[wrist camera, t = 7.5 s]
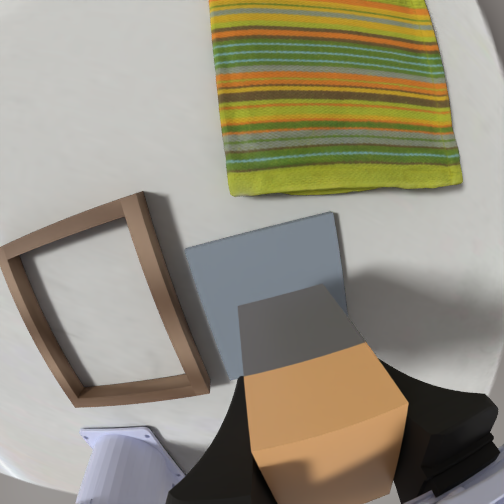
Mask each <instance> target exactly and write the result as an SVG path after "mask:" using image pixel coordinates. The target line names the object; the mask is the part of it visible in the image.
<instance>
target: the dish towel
mask: <svg viewBox="0 0 504 504" xmlns="http://www.w3.org/2000/svg"><path fill="white" fill-rule="evenodd" d="M209 7H210V21H211V32H212V44H213V54H214V63H215V71H216V84H217V92H218V101H219V113H220V120H221V128H222V137H223V142H224V150H225V155H226V168H227V177H228V185H229V190H230V194H231V195H232V196H234V197H238V196H256V195H261V194H265V195H266V194H270V193H285V194H290V195H324V194H337V193H348V192H353V191H358V192H360V191H366V190H372V189H377V188H381V187H398V188H403V189H417V188H437V187H443V186H448V185H457V184H461V183H462V182H463V176H462V171H461V166H460V156H459V151H458V147H457V143H456V139H455V136H454V132H453V129H452V121H451V110H450V103H449V97H448V91H447V86H446V80H445V74H444V69H443V65H442V61H441V56H440V52H439V48H438V44H437V40H436V37H435V33H434V30H433V26H432V22H431V18H430V15H429V12H428V9H427V6H426V4H425V1H424V0H209Z"/></svg>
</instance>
